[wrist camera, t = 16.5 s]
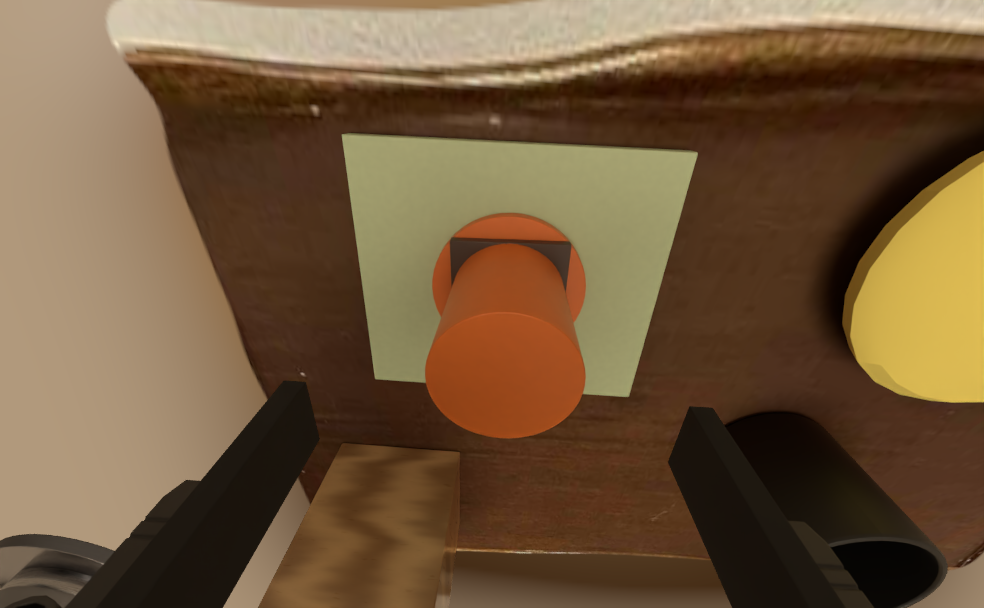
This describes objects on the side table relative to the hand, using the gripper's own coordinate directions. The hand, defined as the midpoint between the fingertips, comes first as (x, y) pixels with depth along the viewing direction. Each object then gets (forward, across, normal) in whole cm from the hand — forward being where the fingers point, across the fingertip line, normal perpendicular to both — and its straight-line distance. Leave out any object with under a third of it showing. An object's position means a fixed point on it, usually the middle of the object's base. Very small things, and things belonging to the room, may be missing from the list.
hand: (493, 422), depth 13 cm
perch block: (+12, -8, -21) cm, 25 cm away
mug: (+12, +22, -14) cm, 29 cm away
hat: (+11, 0, 0) cm, 11 cm away
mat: (+12, 0, 0) cm, 12 cm away
